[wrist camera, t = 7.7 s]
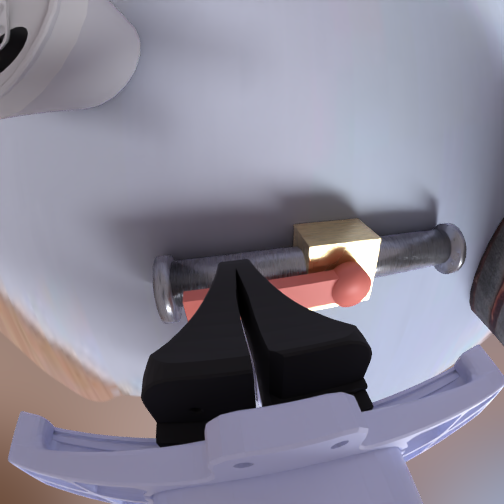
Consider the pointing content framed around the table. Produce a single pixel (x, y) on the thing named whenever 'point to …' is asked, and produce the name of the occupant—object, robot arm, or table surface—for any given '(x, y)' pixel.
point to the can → (63, 55)
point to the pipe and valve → (316, 258)
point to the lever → (309, 288)
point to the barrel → (491, 285)
